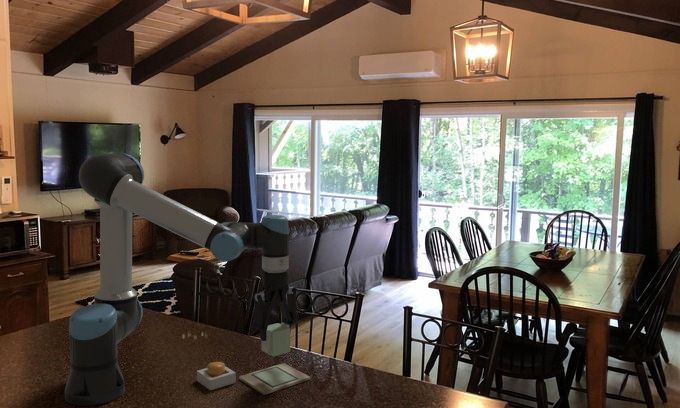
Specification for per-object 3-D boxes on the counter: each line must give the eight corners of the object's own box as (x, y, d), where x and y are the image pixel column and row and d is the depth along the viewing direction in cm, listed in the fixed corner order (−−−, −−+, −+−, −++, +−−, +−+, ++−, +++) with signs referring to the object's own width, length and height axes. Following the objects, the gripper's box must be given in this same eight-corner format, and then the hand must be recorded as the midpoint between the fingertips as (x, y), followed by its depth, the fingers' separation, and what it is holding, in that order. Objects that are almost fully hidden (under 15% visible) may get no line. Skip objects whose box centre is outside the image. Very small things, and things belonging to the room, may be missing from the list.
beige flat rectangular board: (264, 394, 157) (264, 391, 157) (239, 379, 167) (239, 376, 167) (309, 379, 168) (310, 376, 168) (283, 365, 177) (283, 362, 177)
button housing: (210, 390, 159) (210, 380, 159) (196, 380, 165) (196, 370, 165) (235, 382, 164) (235, 372, 164) (221, 373, 170) (221, 363, 170)
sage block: (273, 356, 162) (273, 332, 161) (261, 350, 166) (261, 327, 166) (290, 351, 166) (290, 328, 165) (278, 345, 170) (278, 323, 170)
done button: (212, 380, 161) (212, 369, 161) (204, 374, 165) (204, 364, 164) (227, 375, 164) (227, 365, 164) (219, 370, 168) (219, 360, 168)
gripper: (254, 277, 154) (254, 360, 157) (309, 267, 167) (309, 344, 169) (239, 272, 160) (240, 352, 163) (294, 262, 172) (294, 337, 175)
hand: (275, 347), depth 166 cm, fingers closed on sage block, 6 cm apart
